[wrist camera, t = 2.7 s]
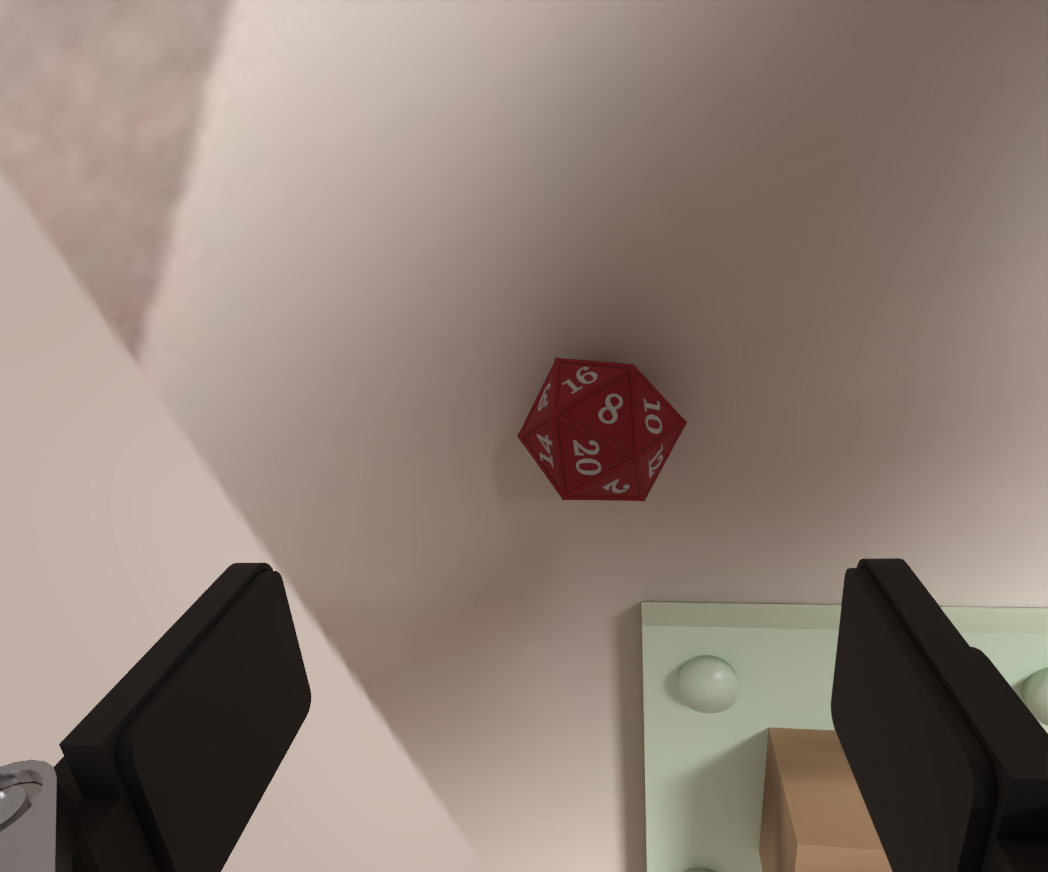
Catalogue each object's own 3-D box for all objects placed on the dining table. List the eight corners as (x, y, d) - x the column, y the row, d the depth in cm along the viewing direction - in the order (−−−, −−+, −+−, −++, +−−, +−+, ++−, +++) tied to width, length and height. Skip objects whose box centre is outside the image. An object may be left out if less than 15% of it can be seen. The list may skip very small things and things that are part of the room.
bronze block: (768, 727, 22) (797, 844, 18) (969, 736, 21) (1043, 861, 17) (758, 851, 24) (783, 977, 20) (939, 865, 23) (998, 999, 19)
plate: (641, 601, 22) (642, 638, 20) (1122, 609, 20) (1167, 651, 18) (646, 881, 27) (648, 929, 26) (1024, 913, 25) (1052, 966, 23)
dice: (518, 348, 19) (492, 395, 15) (677, 331, 18) (690, 377, 15) (535, 466, 20) (516, 535, 17) (684, 455, 20) (698, 525, 16)
